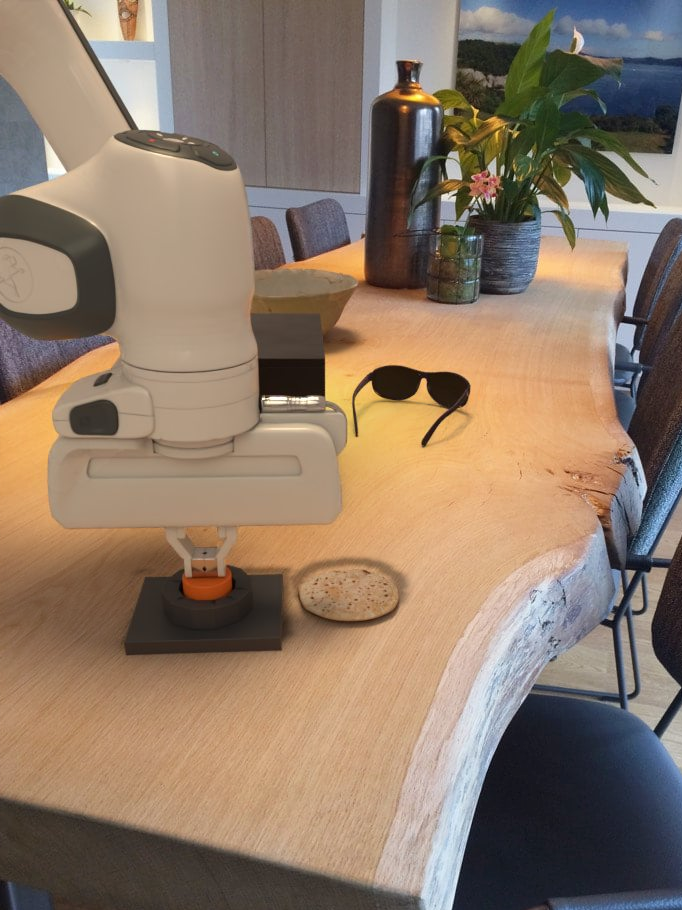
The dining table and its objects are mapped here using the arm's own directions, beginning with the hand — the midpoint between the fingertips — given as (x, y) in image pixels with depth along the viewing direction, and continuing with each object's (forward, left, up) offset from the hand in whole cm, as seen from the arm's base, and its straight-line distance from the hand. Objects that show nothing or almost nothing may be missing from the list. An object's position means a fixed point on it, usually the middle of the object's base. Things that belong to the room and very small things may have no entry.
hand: (206, 573), depth 62 cm
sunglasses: (-17, +45, -4) cm, 48 cm away
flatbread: (+6, +9, -4) cm, 12 cm away
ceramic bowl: (-56, +62, -4) cm, 84 cm away
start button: (0, 0, -2) cm, 2 cm away
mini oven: (-19, +21, -4) cm, 29 cm away
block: (0, 0, -4) cm, 4 cm away
